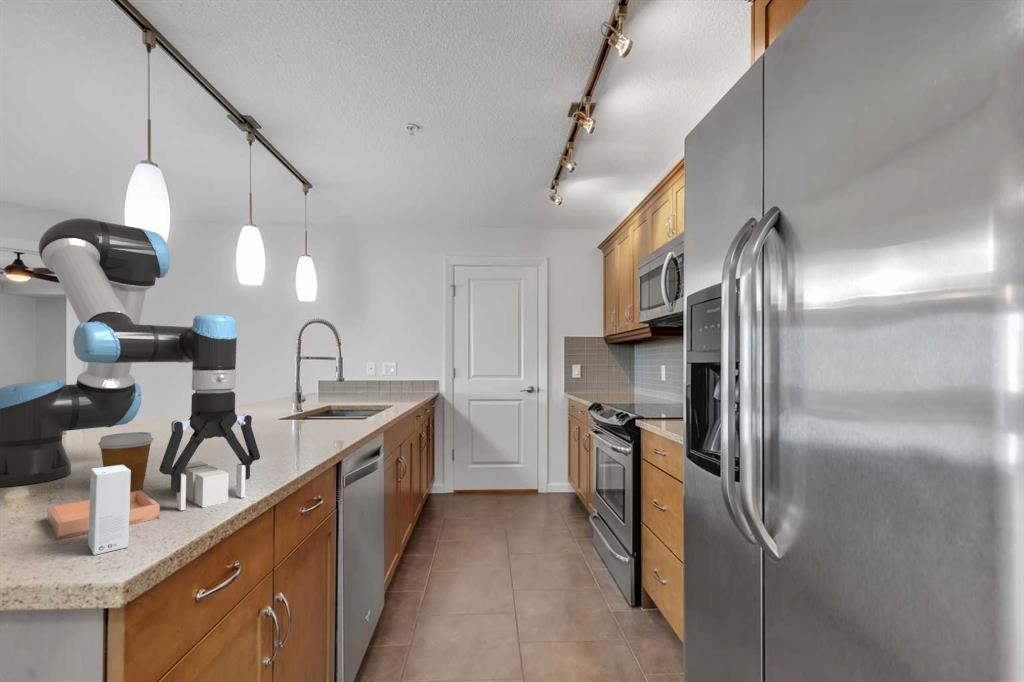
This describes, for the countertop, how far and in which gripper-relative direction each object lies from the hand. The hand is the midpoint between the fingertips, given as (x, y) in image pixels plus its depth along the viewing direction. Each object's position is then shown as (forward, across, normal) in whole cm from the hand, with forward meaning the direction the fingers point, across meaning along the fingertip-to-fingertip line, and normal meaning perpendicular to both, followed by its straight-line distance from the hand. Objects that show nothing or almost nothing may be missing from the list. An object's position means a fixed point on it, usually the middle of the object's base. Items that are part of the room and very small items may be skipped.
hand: (212, 502), depth 95 cm
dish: (0, -16, +4) cm, 17 cm away
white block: (0, 0, 0) cm, 0 cm away
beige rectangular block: (0, 0, +6) cm, 6 cm away
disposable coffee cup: (0, -9, +25) cm, 27 cm away
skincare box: (0, -18, -12) cm, 22 cm away
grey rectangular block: (0, 0, +12) cm, 12 cm away
